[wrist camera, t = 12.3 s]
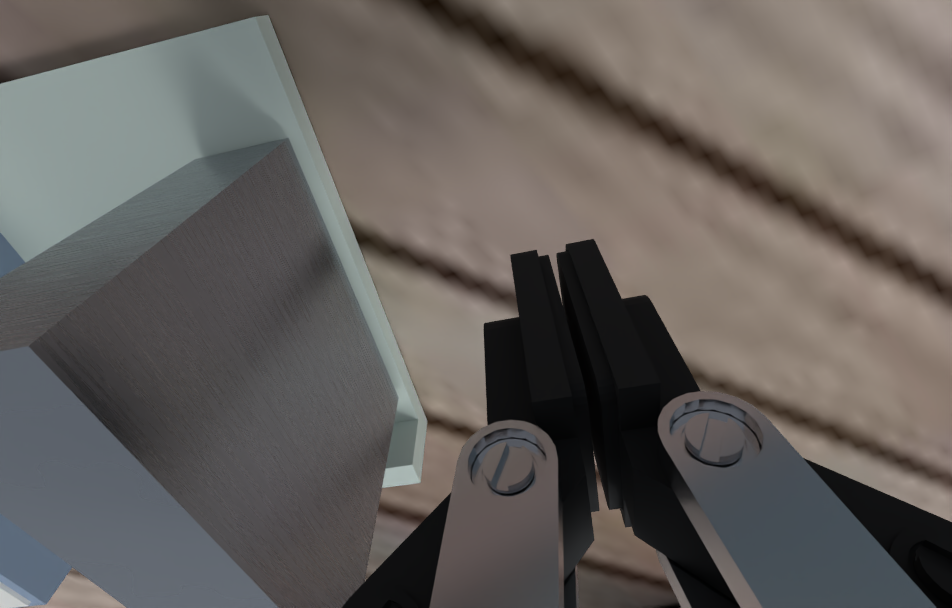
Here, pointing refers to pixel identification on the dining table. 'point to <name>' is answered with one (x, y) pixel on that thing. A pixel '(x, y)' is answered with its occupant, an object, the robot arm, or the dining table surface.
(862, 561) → the robot arm
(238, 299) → the bookend
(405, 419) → the mint u-shaped tray
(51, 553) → the book
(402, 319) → the dining table surface
